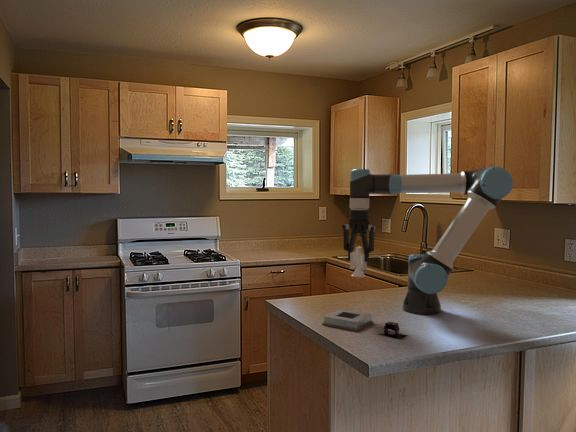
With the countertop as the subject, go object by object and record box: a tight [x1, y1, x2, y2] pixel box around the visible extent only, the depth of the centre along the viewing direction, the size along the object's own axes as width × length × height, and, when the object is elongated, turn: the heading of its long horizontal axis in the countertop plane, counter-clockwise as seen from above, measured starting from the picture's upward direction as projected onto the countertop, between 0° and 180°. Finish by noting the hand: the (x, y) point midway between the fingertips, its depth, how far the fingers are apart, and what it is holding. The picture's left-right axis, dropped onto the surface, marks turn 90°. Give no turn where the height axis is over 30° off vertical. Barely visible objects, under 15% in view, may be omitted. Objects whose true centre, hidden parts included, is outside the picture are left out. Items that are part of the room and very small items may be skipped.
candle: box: [351, 246, 366, 278], centre depth 193 cm, size 5×5×12 cm
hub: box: [321, 308, 374, 332], centre depth 183 cm, size 14×14×3 cm
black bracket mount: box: [376, 321, 409, 340], centre depth 170 cm, size 12×7×5 cm, turn 55°
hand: (358, 269), depth 193 cm, fingers closed on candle, 4 cm apart
